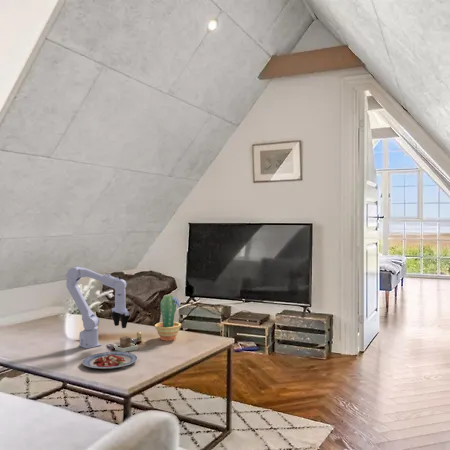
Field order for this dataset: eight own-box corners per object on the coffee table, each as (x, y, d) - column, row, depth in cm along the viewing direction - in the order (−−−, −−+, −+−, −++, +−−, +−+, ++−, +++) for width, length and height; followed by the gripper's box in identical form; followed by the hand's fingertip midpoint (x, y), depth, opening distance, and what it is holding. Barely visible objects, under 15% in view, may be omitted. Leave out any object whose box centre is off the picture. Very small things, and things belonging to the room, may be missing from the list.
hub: (130, 346, 257) (130, 343, 257) (125, 344, 261) (125, 342, 261) (137, 344, 261) (137, 342, 261) (132, 342, 265) (132, 340, 265)
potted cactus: (168, 343, 263) (168, 298, 262) (148, 339, 272) (148, 295, 272) (187, 337, 275) (186, 294, 274) (167, 333, 284) (167, 292, 284)
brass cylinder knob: (130, 342, 259) (130, 335, 259) (127, 341, 261) (127, 334, 261) (142, 339, 264) (142, 332, 264) (139, 339, 266) (139, 331, 266)
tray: (122, 353, 244) (122, 348, 244) (113, 349, 251) (113, 345, 250) (138, 349, 250) (138, 345, 250) (128, 346, 257) (128, 342, 257)
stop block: (124, 350, 247) (124, 338, 247) (120, 348, 250) (119, 337, 250) (130, 348, 250) (130, 337, 250) (126, 347, 253) (126, 336, 253)
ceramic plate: (72, 363, 227) (72, 357, 227) (119, 352, 245) (119, 347, 245) (99, 376, 209) (99, 369, 209) (148, 363, 227) (148, 357, 227)
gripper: (133, 302, 256) (133, 327, 256) (119, 299, 266) (119, 323, 266) (122, 304, 251) (122, 330, 251) (108, 300, 261) (108, 325, 262)
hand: (120, 326), depth 258 cm, fingers open, 7 cm apart
